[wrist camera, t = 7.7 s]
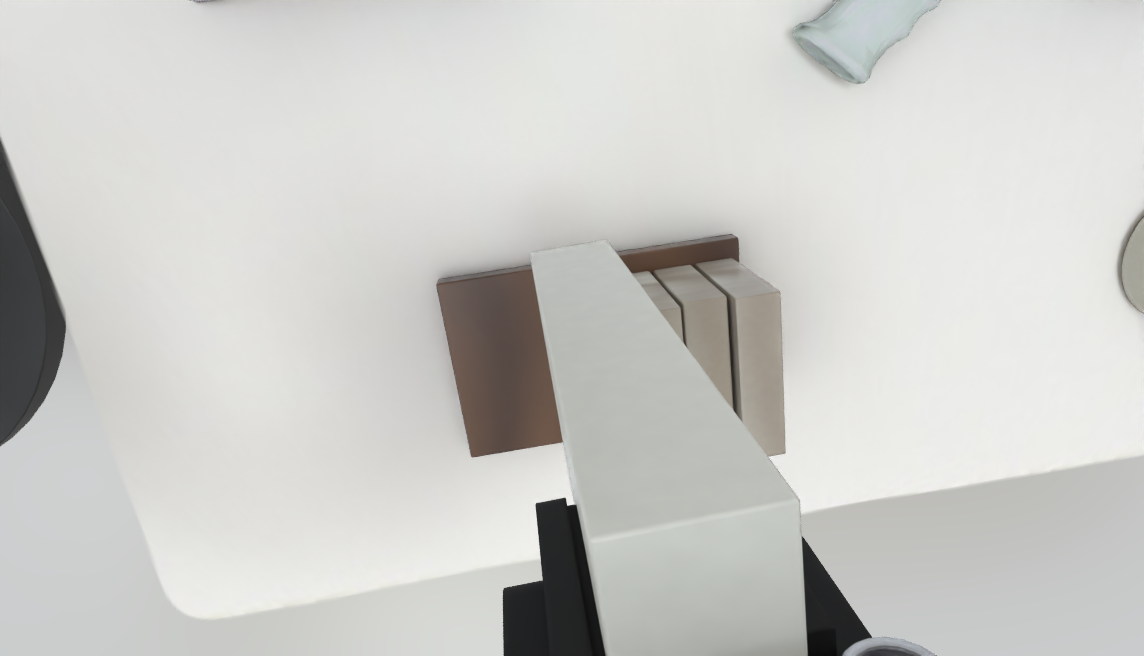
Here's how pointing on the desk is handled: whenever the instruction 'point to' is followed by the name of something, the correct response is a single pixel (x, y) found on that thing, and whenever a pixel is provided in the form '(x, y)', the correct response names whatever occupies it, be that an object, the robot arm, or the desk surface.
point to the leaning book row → (680, 292)
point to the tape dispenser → (859, 33)
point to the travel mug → (1135, 267)
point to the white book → (664, 476)
